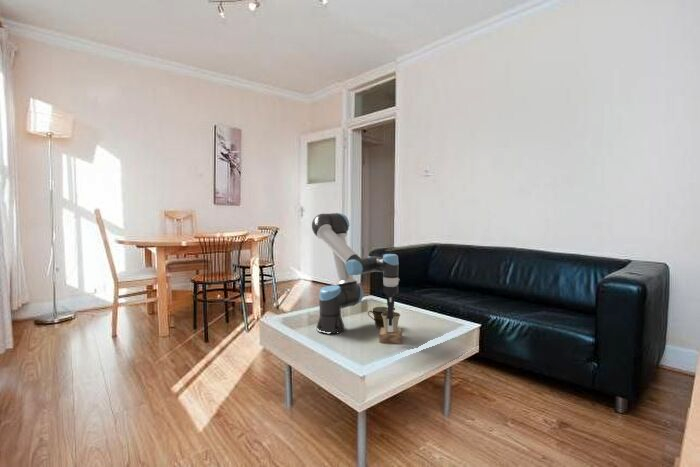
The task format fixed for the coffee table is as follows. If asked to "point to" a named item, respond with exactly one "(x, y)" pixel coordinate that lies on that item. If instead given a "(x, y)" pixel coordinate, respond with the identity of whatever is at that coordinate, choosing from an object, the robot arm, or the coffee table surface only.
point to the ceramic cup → (378, 316)
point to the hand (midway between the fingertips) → (390, 327)
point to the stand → (390, 336)
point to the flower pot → (395, 321)
